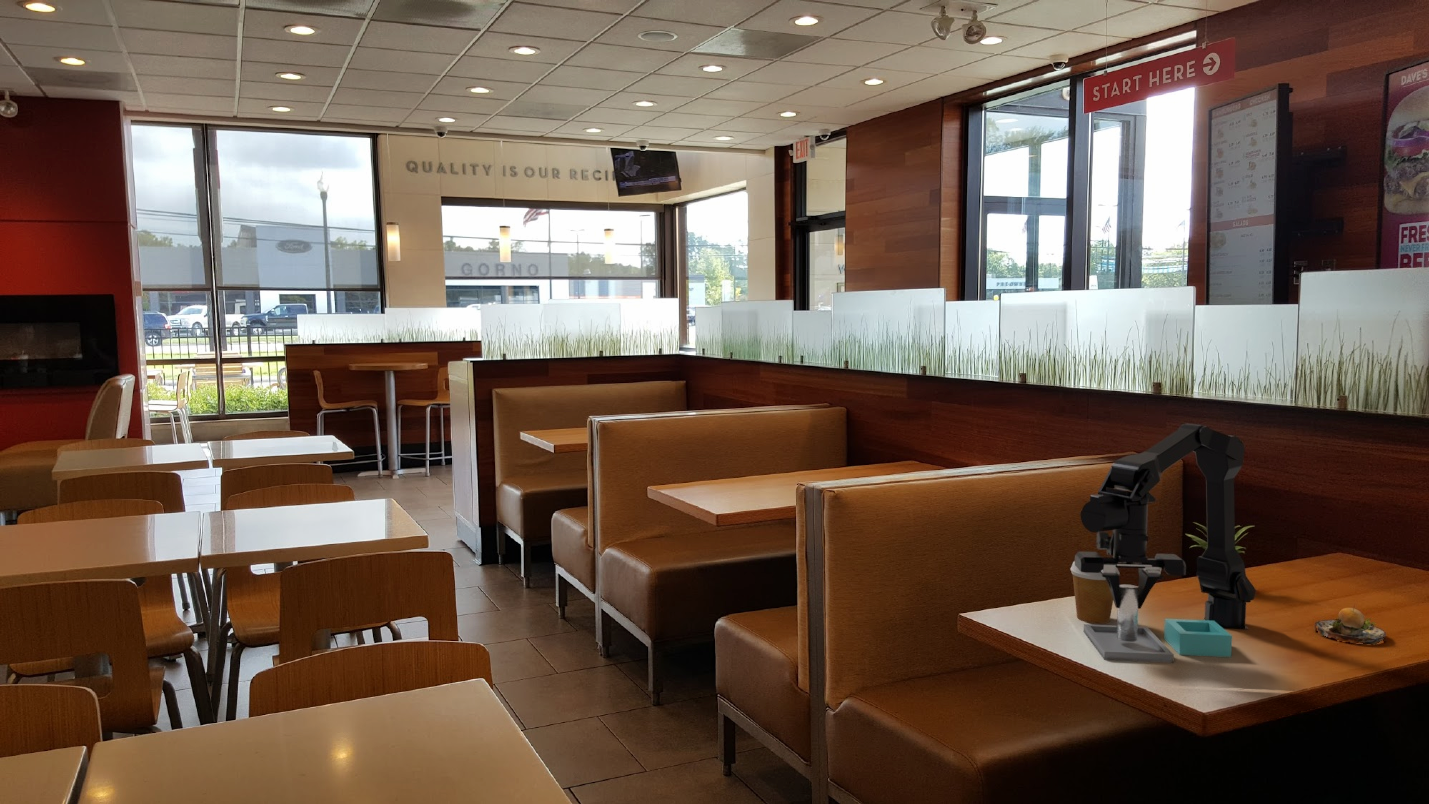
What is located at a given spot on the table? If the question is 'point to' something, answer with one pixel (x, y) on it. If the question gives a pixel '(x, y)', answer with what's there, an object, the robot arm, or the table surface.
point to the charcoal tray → (1127, 645)
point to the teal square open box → (1197, 637)
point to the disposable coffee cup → (1092, 596)
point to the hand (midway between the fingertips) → (1127, 607)
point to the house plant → (1202, 542)
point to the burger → (1350, 628)
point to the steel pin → (1128, 613)
